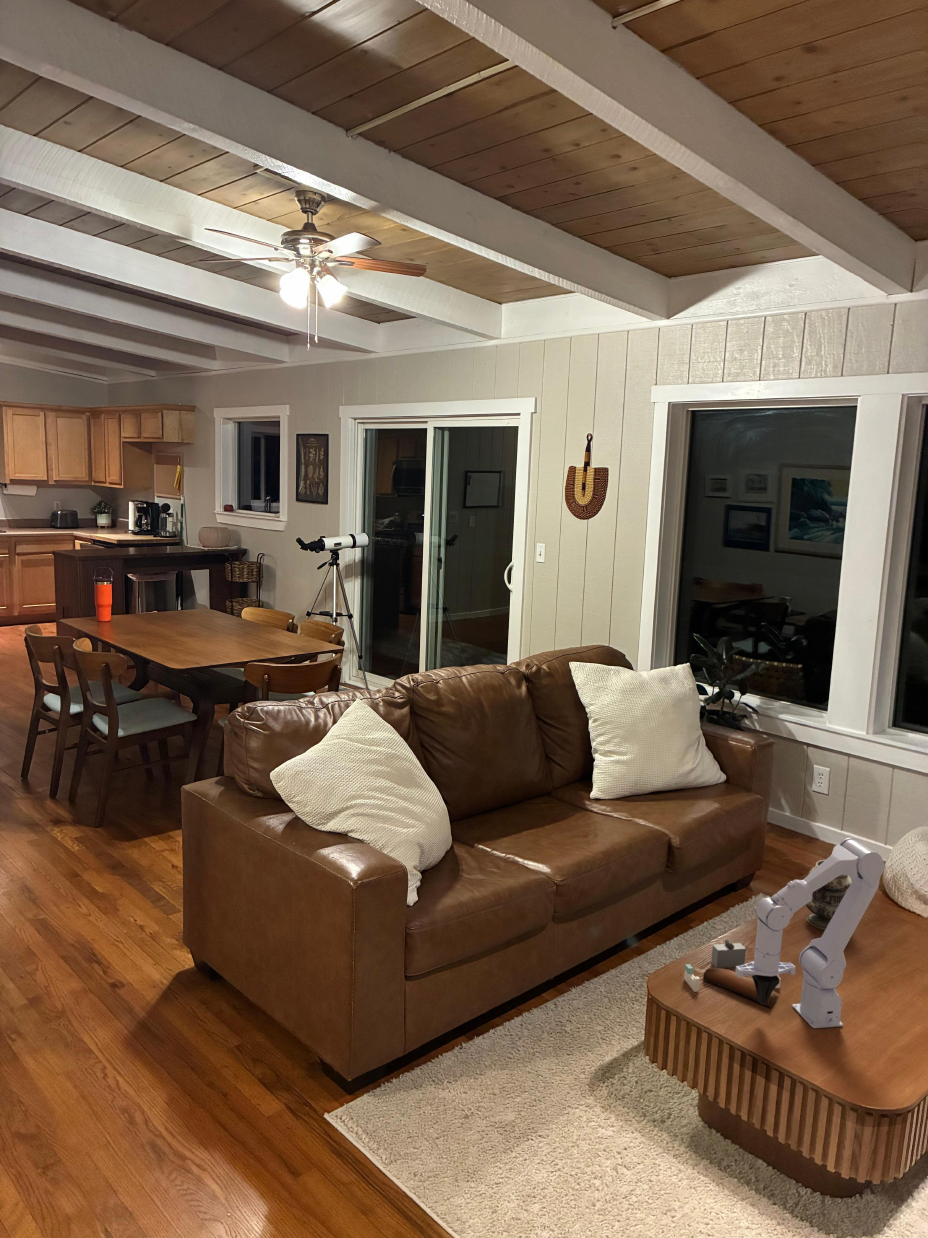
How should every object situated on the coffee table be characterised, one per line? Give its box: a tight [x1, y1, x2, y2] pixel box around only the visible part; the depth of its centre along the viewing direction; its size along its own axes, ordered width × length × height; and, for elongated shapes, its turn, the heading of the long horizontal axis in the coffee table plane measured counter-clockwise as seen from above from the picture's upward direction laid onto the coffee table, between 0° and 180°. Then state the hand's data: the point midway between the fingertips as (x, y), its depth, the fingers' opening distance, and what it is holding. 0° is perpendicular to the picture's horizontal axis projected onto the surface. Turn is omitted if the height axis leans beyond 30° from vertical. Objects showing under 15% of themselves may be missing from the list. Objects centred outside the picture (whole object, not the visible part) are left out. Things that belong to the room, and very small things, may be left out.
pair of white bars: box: [683, 963, 782, 993], centre depth 235 cm, size 11×23×4 cm, turn 101°
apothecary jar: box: [805, 859, 852, 931], centre depth 267 cm, size 12×12×18 cm
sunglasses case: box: [702, 967, 781, 1009], centre depth 230 cm, size 18×7×7 cm
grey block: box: [710, 939, 747, 969], centre depth 242 cm, size 3×8×6 cm, turn 101°
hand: (762, 1002), depth 217 cm, fingers closed
